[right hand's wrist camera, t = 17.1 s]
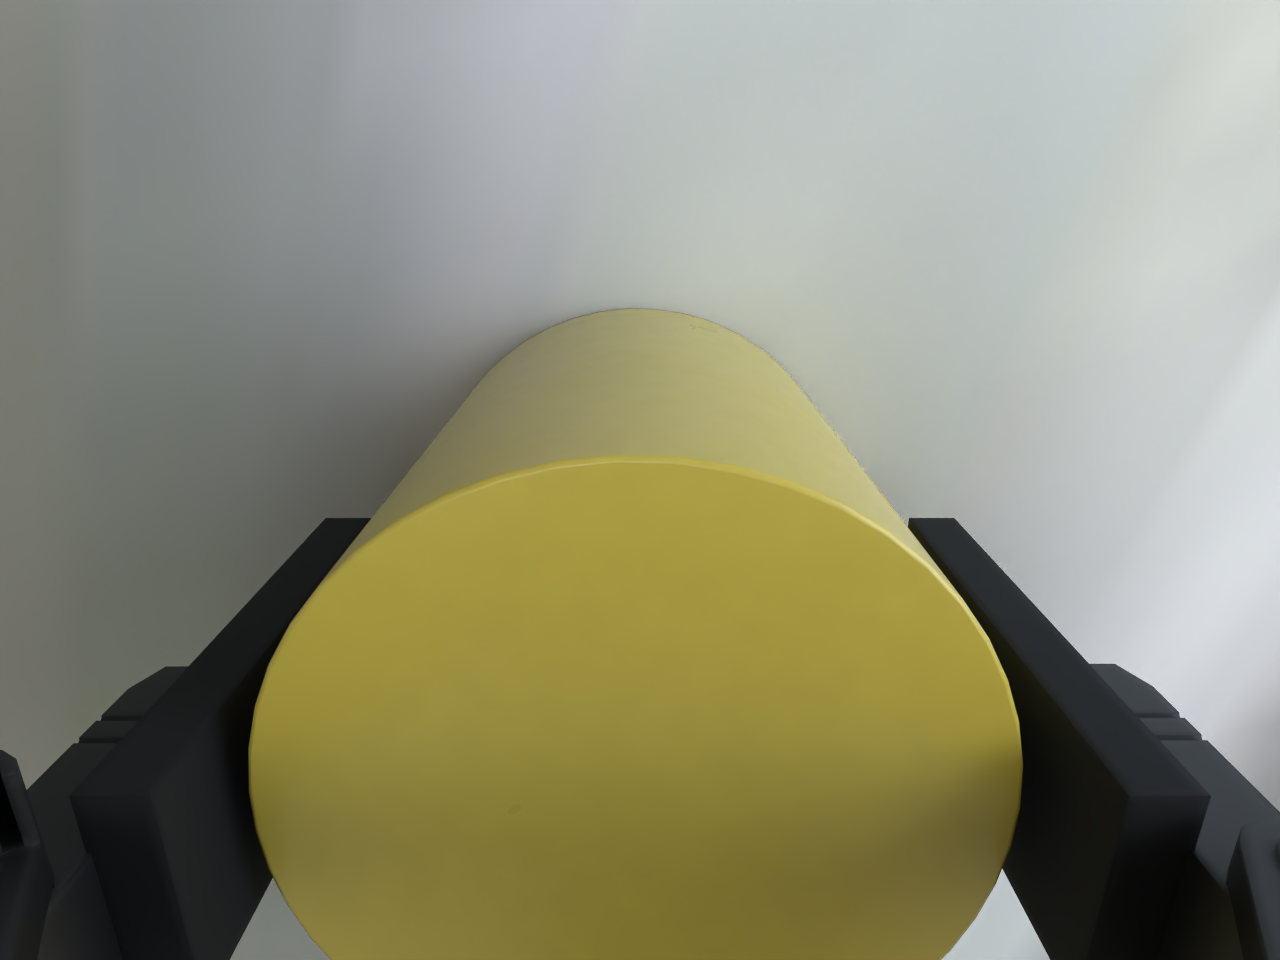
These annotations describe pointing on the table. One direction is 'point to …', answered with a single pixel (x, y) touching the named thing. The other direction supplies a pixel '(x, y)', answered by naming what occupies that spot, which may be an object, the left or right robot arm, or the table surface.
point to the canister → (635, 684)
